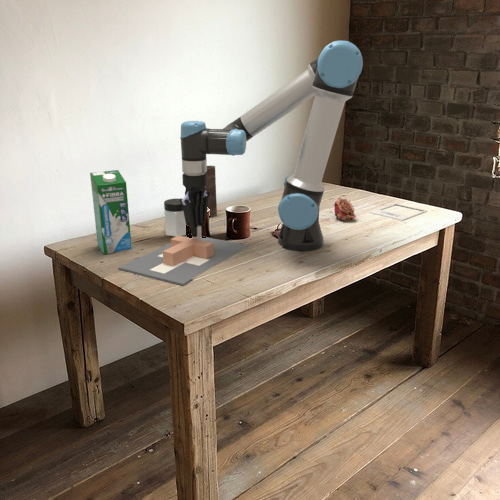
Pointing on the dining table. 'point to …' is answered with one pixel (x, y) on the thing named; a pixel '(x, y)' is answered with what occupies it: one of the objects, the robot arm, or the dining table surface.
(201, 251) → the t block
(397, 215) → the photo frame
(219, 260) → the mat
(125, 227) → the milk carton
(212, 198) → the candle
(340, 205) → the flower
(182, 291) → the dining table surface
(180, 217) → the jar
